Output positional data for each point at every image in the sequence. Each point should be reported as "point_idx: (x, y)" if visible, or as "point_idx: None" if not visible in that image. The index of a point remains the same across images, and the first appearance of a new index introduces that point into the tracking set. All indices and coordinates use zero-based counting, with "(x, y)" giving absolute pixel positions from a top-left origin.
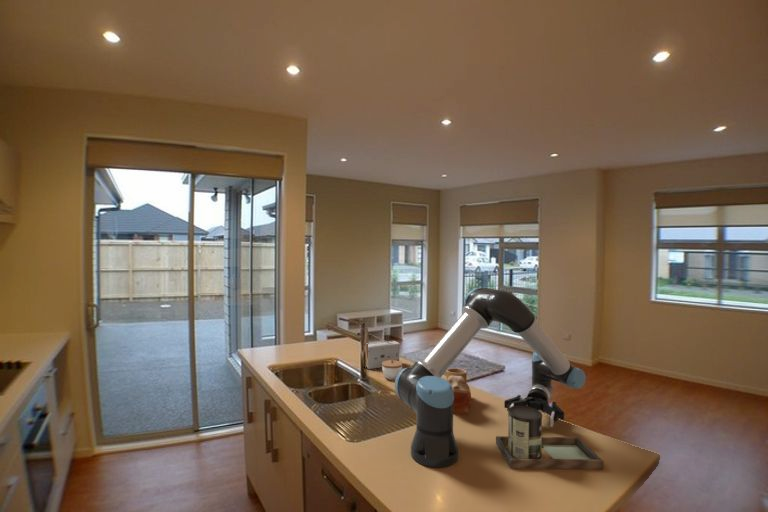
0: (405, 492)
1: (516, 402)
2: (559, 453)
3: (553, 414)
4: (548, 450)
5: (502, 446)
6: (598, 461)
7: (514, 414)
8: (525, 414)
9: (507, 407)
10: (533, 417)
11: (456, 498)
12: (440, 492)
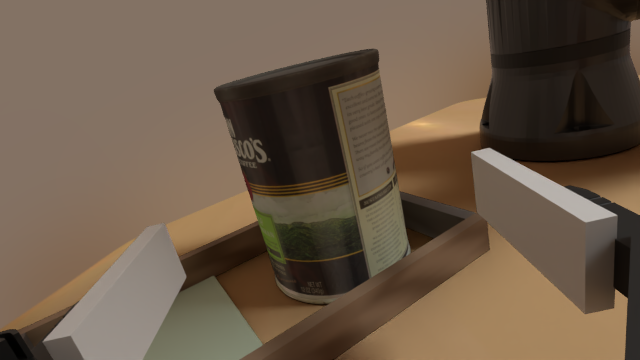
0: (469, 108)
1: (634, 280)
2: (190, 349)
3: (98, 282)
4: (244, 340)
5: (409, 194)
6: (35, 325)
7: (331, 57)
8: (290, 70)
9: (570, 186)
10: (255, 78)
11: (399, 133)
12: (429, 126)
